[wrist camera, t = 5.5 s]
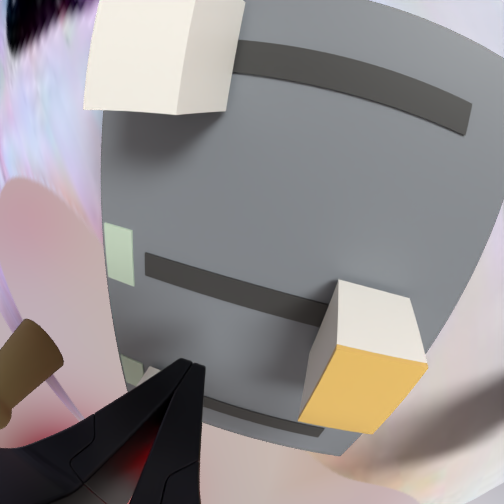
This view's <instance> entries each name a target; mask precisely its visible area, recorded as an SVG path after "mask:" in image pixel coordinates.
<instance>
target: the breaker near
mask: <svg viewBox="0 0 504 504" xmlns="http://www.w3.org/2000/svg"><path fill="white" fill-rule="evenodd" d="M244 8H245V2H244V1H243V0H100V1H99V5H98V9H97V14H96V18H95V23H94V28H93V34H92V39H91V45H90V51H89V58H88V65H87V73H86V82H85V92H84V104H83V110H114V111H134V112H148V113H160V114H171V115H181V114H192V113H205V112H221V111H226V107H227V101H228V94H229V88H230V82H231V77H232V71H233V65H234V60H235V54H236V49H237V43H238V38H239V33H240V28H241V22H242V17H243V13H244Z"/></svg>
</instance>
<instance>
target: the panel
mask: <svg viewBox="0 0 504 504" xmlns="http://www.w3.org/2000/svg"><path fill="white" fill-rule="evenodd" d="M243 1H244V2H245V8H244V13H243V17H242V22H241V28H240V33H239V38H238V43H237V49H236V54H235V60H234V65H233V71H232V77H231V82H230V88H229V94H228V101H227V107H226V111H221V112H205V113H192V114H181V115H171V114H160V113H148V112H134V111H114V110H103V123H102V143H101V209H102V229H103V243H104V255H105V266H106V275H107V284H108V291H109V299H110V306H111V312H112V319H113V325H114V331H115V336H116V341H117V347H118V352H119V357H120V361H121V366H122V370H123V375H124V379H125V383H126V387H127V391H128V392H129V391H131V390H132V389H134V388H135V387H136V386H137V384H138V383H139V381H140V380H141V378H142V377H143V375H144V374H145V372H146V371H147V369H148V368H149V366H151V367H154V368H156V369H159V370H163V369H164V368H166V367H167V366H169V365H170V364H172V363H173V362H175V361H176V360H178V359H179V358H184V359H187V360H190V361H192V362H193V363H198V364H201V365H204V366H206V374H205V387H204V401H203V416H202V422H203V423H206V424H209V425H212V426H215V427H218V428H221V429H224V430H228V431H230V432H234V433H237V434H241V435H244V436H247V437H251V438H254V439H258V440H262V441H266V442H270V443H274V444H278V445H283V446H287V447H291V448H296V449H301V450H306V451H311V452H316V453H322V454H328V455H334V456H341V455H342V454H343V453H344V452H345V451H346V450H347V449H348V448H349V447H350V446H351V445H352V444H353V443H354V442H355V441H356V440H357V439H358V438H359V437H360V435H361V434H362V433H359V432H352V431H346V430H340V429H334V428H329V427H324V426H318V425H314V424H309V423H304V422H300V421H298V416H299V411H300V406H301V400H302V395H303V389H304V383H305V377H306V371H307V365H308V359H309V353H310V350H311V348H312V346H313V343H314V341H315V338H316V336H317V334H318V331H319V329H320V326H321V324H322V321H323V319H324V316H325V314H326V311H327V309H328V306H329V303H330V301H331V298H332V296H333V293H334V290H335V288H336V285H337V282H338V279H340V280H343V281H347V282H351V283H354V284H358V285H362V286H366V287H369V288H373V289H377V290H381V291H384V292H388V293H392V294H396V295H400V296H403V297H407V298H410V301H411V304H412V308H413V311H414V315H415V318H416V322H417V325H418V329H419V332H420V336H421V340H422V344H423V348H424V352H425V354H426V353H427V351H428V350H429V348H430V347H431V345H432V344H433V342H434V341H435V339H436V338H437V336H438V334H439V333H440V331H441V330H442V328H443V326H444V325H445V323H446V321H447V320H448V318H449V316H450V315H451V313H452V311H453V309H454V308H455V306H456V304H457V302H458V301H459V299H460V297H461V295H462V293H463V291H464V289H465V288H466V286H467V284H468V282H469V280H470V278H471V276H472V274H473V272H474V270H475V268H476V266H477V263H478V261H479V259H480V257H481V255H482V253H483V250H484V248H485V246H486V244H487V241H488V239H489V237H490V234H491V232H492V229H493V227H494V224H495V222H496V219H497V216H498V214H499V211H500V208H501V205H502V203H503V200H504V58H503V57H501V56H499V55H498V54H496V53H494V52H493V51H491V50H489V49H487V48H485V47H484V46H482V45H480V44H478V43H476V42H474V41H472V40H471V39H469V38H467V37H465V36H463V35H461V34H458V33H456V32H454V31H452V30H450V29H448V28H445V27H443V26H441V25H439V24H436V23H434V22H431V21H429V20H426V19H424V18H421V17H419V16H416V15H413V14H411V13H408V12H405V11H402V10H399V9H396V8H393V7H390V6H387V5H383V4H380V3H376V2H373V1H369V0H243Z"/></svg>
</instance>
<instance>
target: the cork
mask: <svg viewBox="0 0 504 504" xmlns="http://www.w3.org/2000/svg"><path fill="white" fill-rule="evenodd" d="M63 362H64V361H63V357H62V355H61V353H60V351H59V349H58V347H57V346H56V345H55V343H54V341H53V340H52V339H51V338H50V336H49V335H48V334H47V333H46V332H45V331H44V330H43V329H42V328H41V327H40V326H39V325H38V324H36V323H35V322H34V321H32V320H29V319H24V320H23V322H22V323H21V324H20V325H19V326H18V328H17V329H16V330H15V331H14V333H13V334H12V335H11V336H10V338H9V339H8V340H7V342H6V343H5V344H4V346H3V347H2V348H1V349H0V429H2V428H4V427H6V426H7V424H8V423H9V421H10V419H11V414H12V408H13V407H15V406H16V405H17V404H18V403H19V402H20V401H22V400H23V399H24V398H25V397H26V396H27V395H28V394H30V393H31V392H32V391H33V390H34V389H36V388H37V387H38V386H39V385H40V384H41V383H43V381H45V380H46V379H47V378H49V377H50V376H51V375H52V374H53V373H54V372H56V371H57V370H58V369H59V368H60V367H62V366H63Z"/></svg>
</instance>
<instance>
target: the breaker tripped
mask: <svg viewBox="0 0 504 504" xmlns="http://www.w3.org/2000/svg"><path fill="white" fill-rule="evenodd" d="M427 369H428V365H427V360H426V356H425V352H424V348H423V344H422V340H421V336H420V332H419V329H418V325H417V322H416V318H415V315H414V311H413V308H412V304H411V301H410V298H407V297H403V296H400V295H396V294H392V293H388V292H384V291H381V290H377V289H373V288H369V287H366V286H362V285H358V284H354V283H351V282H347V281H343V280H340V279H338V282H337V285H336V288H335V290H334V293H333V296H332V298H331V301H330V303H329V306H328V309H327V311H326V314H325V316H324V319H323V321H322V324H321V326H320V329H319V331H318V334H317V336H316V338H315V341H314V343H313V346H312V348H311V350H310V353H309V359H308V365H307V371H306V377H305V383H304V389H303V395H302V400H301V406H300V411H299V416H298V421H300V422H304V423H309V424H314V425H318V426H324V427H329V428H334V429H340V430H346V431H352V432H359V433H366V434H373V433H374V432H375V431H376V430H377V429H378V428H379V427H380V426H381V425H382V423H383V422H384V421H385V420H386V419H387V418H388V417H389V416H390V415H391V413H392V412H393V411H394V410H395V409H396V408H397V407H398V405H399V404H400V403H401V402H402V401H403V400H404V398H405V397H406V396H407V395H408V393H409V392H410V391H411V390H412V388H413V387H414V386H415V385H416V383H417V382H418V381H419V380H420V378H421V377H422V376H423V374H424V373H425V372H426V370H427Z"/></svg>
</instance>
